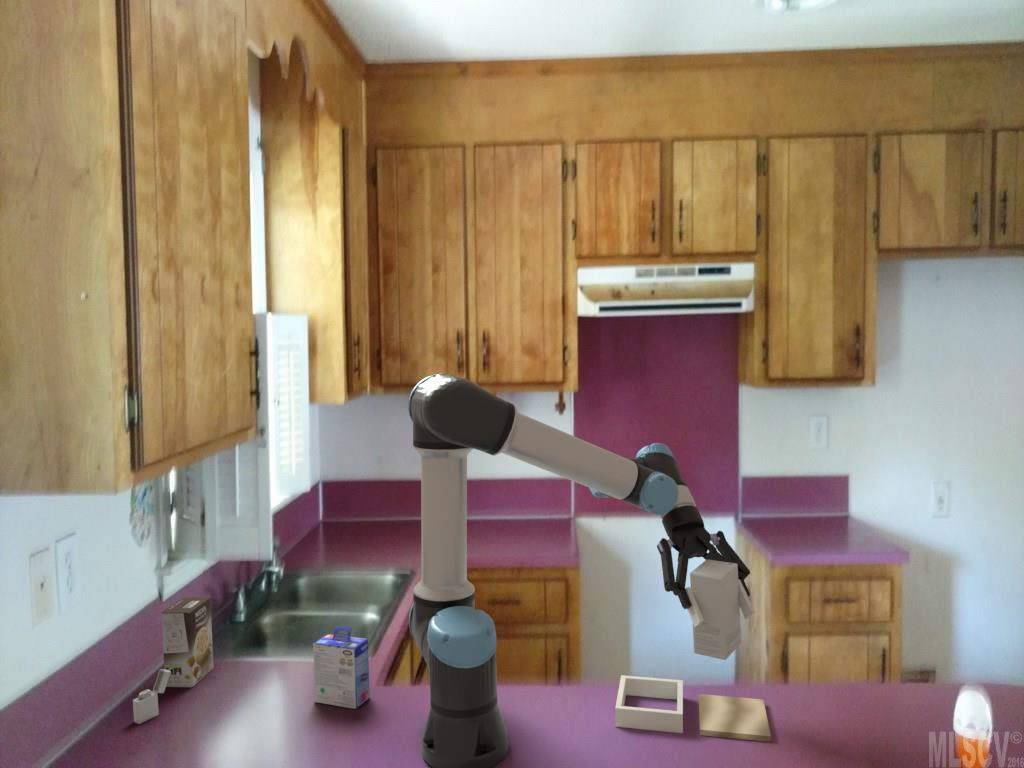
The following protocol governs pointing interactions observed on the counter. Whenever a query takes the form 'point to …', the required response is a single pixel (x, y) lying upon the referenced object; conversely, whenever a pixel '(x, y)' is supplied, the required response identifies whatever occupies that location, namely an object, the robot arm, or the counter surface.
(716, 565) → the skincare box
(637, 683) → the holder collar
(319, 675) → the ink cartridge box
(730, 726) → the oak pad
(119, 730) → the counter surface
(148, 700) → the lighter
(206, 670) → the coffee box
